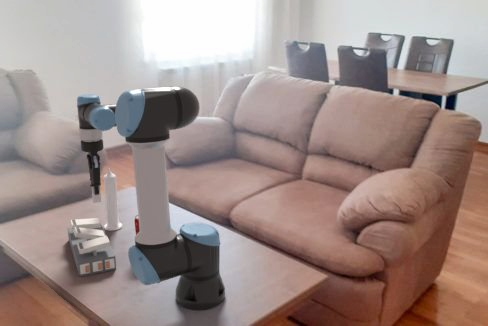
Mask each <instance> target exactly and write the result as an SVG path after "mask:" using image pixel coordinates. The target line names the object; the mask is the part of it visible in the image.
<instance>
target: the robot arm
mask: <svg viewBox="0 0 488 326" xmlns="http://www.w3.org/2000/svg"><path fill="white" fill-rule="evenodd" d="M76 100H77V101H76V104H77V105H76V107H77V114H78V115H77V117H78V124H79V126H78V127H79V138H80V148H81V151H82V152H83V153H86V159H87V165H88V170H89V181H90V184H89V185H90V186H89V187H90V188H91V195H92V203H93V204H96V203H101V202H102V197H101V196H102V195H101V184H102V181H101V157H100V155H99V152H102V151H103V149H104V140H103V132H104V131H105V132H107V131H110V130H111V129H112V128H115V127H116V130H117V133H118V134H119V135H120V136H121V137H124V138H125V139H124V140H125V143H126V144H127V145H129V146H130V147H131V150H132V159H133V160H132V163H133V173H134V183H135V196H136V205H137V215H138V218H139V229H140V231H139V232H138V233H137V235H136V234H135V236H134V245H132V246H129V248H128V251H127V252H128V254H127V255H128V260H129V263H130V267H131V269H132V271H133V273H134V276H135V277H136V278H137V280H138V282H139V283H141V284H143V285H144V286H151V285H155V284H160V283H162V282H165V281H167V280H171V279H173V278H174V279H175V278H177V277H179V279H178V282H177V284H176V288H175V300H176V302H177V303H178V304H179V305H180V306H181V307H182V306H183V307H184V308H186V309H189V310H195V311H201V310H210V309H213V308H214V307H217V306H219V305H221V303H222V302H223V301H224V300H225V298H226V287H225V284H224V282H223V279H222V276H221V273H220V256H221V255H220V251H221V250H220V249H221V239H220V231H218V229H217V228H215V226H213V225H210V224H208V223H203V222H187V223H184V224H182V225H181V226H180V227H179V233H177V232H176V230H174V229H173V228H172V227H171V215H170V214H171V213H170V202H169V198H170V197H169V187H168V174H167V159H166V148H165V146H166V144H167V143H168V141H170V139H171V136H170V135H171V134H170V131H172V130H175V131H176V130H179V129H183V128H185V127H188V126H189V125H191V124H192V123H194V122H195V120H196V119H197V118H198V116H199V114H200V102H199V99H198V97H197V95H196V94H195V93H194V92H193V91H192V90H190V89H188V88H186V87H182V86H176V85H175V86H165V87H164V86H163V87H162V86H161V87H150V88H136V89H132V90H127V91H126V90H125V91H124V92H122V93H121V94H120V95H119V97H118V98H117V101H116V103H113V104H112V103H111V104H101V103H102V102H101V98H100V96H99V94H98V95H97V94H80V95H78V96H77V99H76Z"/></svg>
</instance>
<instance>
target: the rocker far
mask: <svg viewBox="0 0 488 326" xmlns="http://www.w3.org/2000/svg"><path fill="white" fill-rule="evenodd" d="M101 225H102V223H101V220H100V218H99V217H94V218H93V217H92V218H79V219H70V228H72V229H74V227H79V228H97V227H101Z"/></svg>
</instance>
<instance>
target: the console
mask: <svg viewBox="0 0 488 326" xmlns="http://www.w3.org/2000/svg"><path fill="white" fill-rule="evenodd" d="M87 229H96V230H103V232H104V234H105V236H107V234H106V232H105V229H104V226H102V224H101V227H97V228H87ZM67 236H68V242H69V243H68V244H69V245H70V250H71V252H72V253H71V254H72V256H73V260H74V263H75V268H76V270H77V273H78V277H84V276H91V275H95V274H101V273H104V272H109V271H114V270H117V263H116V262H117V260H116V259H117V258H116V255H115V252H114V250H113V247H112V246H111V244H110V246H109V247H105V248H101V249H98V250H94V251H91V252H87V253H83V254H80V253H79V250H78V246H77V243H81V242H85V241H88V240H92V239H88V238H78V237H75V234H74V229H72V227H67Z"/></svg>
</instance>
